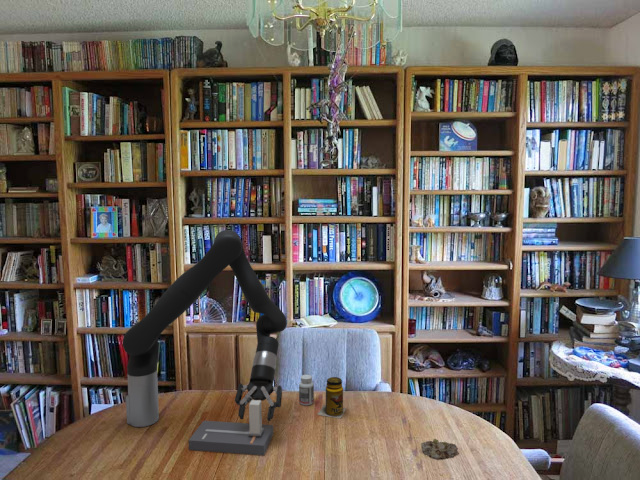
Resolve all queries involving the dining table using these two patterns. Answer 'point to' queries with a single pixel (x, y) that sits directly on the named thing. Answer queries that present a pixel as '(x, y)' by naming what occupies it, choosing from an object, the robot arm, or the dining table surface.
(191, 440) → the console
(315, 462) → the dining table surface
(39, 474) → the dining table surface
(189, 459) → the dining table surface
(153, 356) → the robot arm
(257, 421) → the fader tab
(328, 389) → the condiment
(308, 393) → the pill bottle
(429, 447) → the mineral rock
